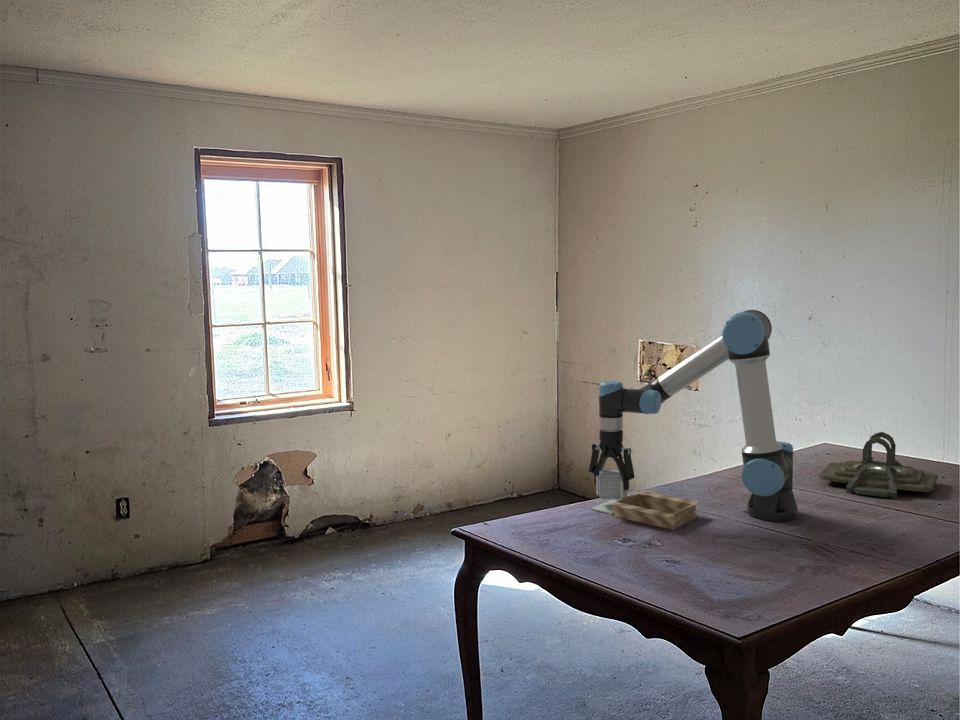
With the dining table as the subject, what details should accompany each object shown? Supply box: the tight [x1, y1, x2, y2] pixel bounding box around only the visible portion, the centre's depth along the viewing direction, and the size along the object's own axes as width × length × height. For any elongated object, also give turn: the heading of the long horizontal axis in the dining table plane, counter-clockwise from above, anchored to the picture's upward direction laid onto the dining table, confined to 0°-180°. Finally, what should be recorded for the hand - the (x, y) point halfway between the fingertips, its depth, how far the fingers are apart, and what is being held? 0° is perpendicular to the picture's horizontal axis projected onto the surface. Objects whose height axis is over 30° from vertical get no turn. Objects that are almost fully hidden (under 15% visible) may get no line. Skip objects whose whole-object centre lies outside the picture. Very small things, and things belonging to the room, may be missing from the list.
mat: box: [590, 499, 618, 515], centre depth 267 cm, size 8×12×1 cm, turn 137°
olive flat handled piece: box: [818, 431, 939, 500], centre depth 282 cm, size 35×34×18 cm
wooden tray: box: [609, 490, 701, 531], centre depth 256 cm, size 21×19×4 cm
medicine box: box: [598, 469, 623, 500], centre depth 266 cm, size 8×4×9 cm, turn 84°
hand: (611, 496), depth 267 cm, fingers closed on medicine box, 9 cm apart
